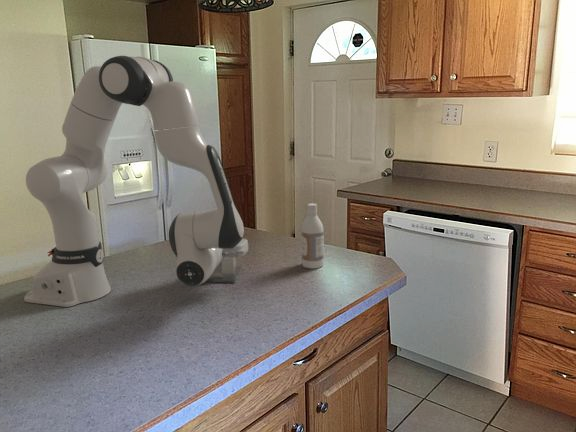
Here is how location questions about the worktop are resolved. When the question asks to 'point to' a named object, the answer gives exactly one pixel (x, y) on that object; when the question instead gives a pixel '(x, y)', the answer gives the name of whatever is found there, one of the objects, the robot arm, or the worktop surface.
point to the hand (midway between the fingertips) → (218, 239)
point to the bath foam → (312, 239)
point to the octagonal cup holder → (226, 271)
